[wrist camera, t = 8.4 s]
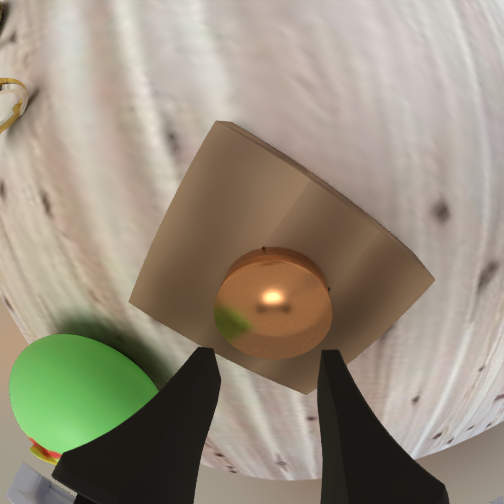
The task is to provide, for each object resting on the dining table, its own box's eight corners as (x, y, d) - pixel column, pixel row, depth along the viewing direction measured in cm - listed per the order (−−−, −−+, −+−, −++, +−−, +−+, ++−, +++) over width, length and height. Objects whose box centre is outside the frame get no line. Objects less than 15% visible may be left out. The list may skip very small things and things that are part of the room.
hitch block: (413, 252, 16) (435, 279, 13) (306, 361, 21) (306, 394, 18) (231, 122, 14) (215, 120, 11) (150, 274, 19) (128, 302, 16)
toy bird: (139, 297, 20) (36, 450, 7) (213, 415, 27) (183, 528, 14) (34, 310, 24) (-36, 389, 11) (103, 403, 31) (63, 479, 18)
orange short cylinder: (335, 241, 16) (352, 286, 11) (304, 313, 18) (306, 368, 14) (244, 214, 16) (226, 250, 11) (224, 291, 18) (205, 343, 14)
